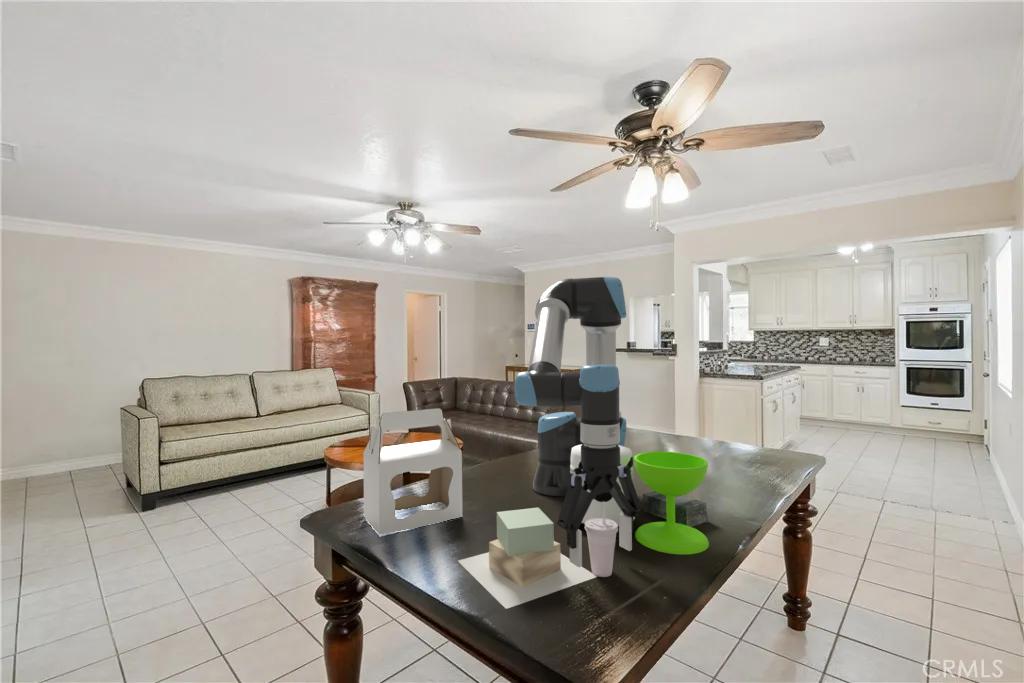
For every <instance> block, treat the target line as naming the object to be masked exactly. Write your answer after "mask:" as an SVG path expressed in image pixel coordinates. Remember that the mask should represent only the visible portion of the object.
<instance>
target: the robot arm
mask: <svg viewBox="0 0 1024 683" xmlns="http://www.w3.org/2000/svg"><path fill="white" fill-rule="evenodd" d="M624 293H625V292H624V288H623V283H622V280H621V279H620V278H618V277H613V276H611V277H610V276H599V277H598V276H597V277H596V276H595V277H584V278H583V277H581V278H580V277H578V278H565V279H561V280H559V281H557V282H555V283H554V284H552V285H550V286H549V287H548V288H547V289H546V290H545V291H544V292H543V293H542V294H541V295H540V296H539V299H538V300H537V302H536V305H535V310H534V315H535V318H536V324H535V331H534V334H533V339H532V345H531V349H530V350H531V351H530V356H529V361H528V366H527V371H522V372H520V371H519V372H518V373H517V374H516V376H515V379H514V398H515V401H516V403H517V404H518V405H520V406H525V407H526V406H527V407H577V408H580V417H578V416H577V415H576V413H575V412H574V411H559V412H553V413H548V414H545V415H543V416H540V418H539V419H538V423H537V425H538V426H537V431H536V432H537V449H538V451H537V453H538V454H537V455H538V456H537V460H538V463H537V466H536V470H535V474H534V477H533V480H532V490H533V491H534V492H536V493H538V494H540V495H541V494H542V495H544V496H551V497H564V499H563V503H562V506H561V509H560V513H559V515H558V518H557V523H556V525H557V527H560V528H561V529H564V531H566V546H567V547H568V548H569V559H570V562H571V563H573V564H574V565H576V566H577V567H583V547H582V546H583V545H582V544H583V543H582V541H583V540H582V539H583V538H582V535H583V534H582V532H583V531H582V530H580V529H579V528H580V526H581V522H582V520H583V518H584V516H585V514H586V512H587V510H588V508H589V506H590V504H591V502H592V500H593V499H595V498H596V496H597V495H600V494H602V493H604V492H605V493H609V492H610V494H611V495H612V497H613V498H614V500H615V501H616V503H617V504H618V506H619V507H620V509H621V510H622V512H623V513H624V514H623V513H620V514H619V528H618V538H619V540H618V542H619V547H620V548H623V549H624V550H626V551H628V552H630V551H632V550H633V542H632V541H633V539H632V537H633V536H632V535H633V534H632V533H633V530H634V521H633V517H635V518H637V517H638V516H639V514H638V513H639V512H640V511H642V506H641V503H640V499H639V497H638V494H637V491H636V488H635V485H634V481H633V482H632V479H631V469H630V467H628V466H625V465H622V464H620V447H619V446H618V445H620V446H624V447H625V445H626V437H627V419H626V418H625V417H622V412H621V411H620V385H621V384H620V383H621V382H620V381H621V380H620V376H619V375H620V374H619V373H620V372H619V368H618V366H617V340H616V339H617V329H618V328H619V327H620V326H621V325H622V319H625V318H627V309H626V308H627V307H626V301H625V294H624ZM570 319H572V320H579V326H581V328H583V329H584V330H585V362H586V363H585V364H584V365H583V366H581V368H580V370H579V371H575V372H574V371H572V372H571V371H569V372H567V371H562V370H561V369H562V368H561V367H562V359H563V358H562V357H563V350H564V349H563V347H564V338H565V327H566V323H567V322H568V321H569V320H570ZM581 444H582V446H581V463H582V465H583V471H582V474H579V475H575V474H573V473H570V465H571V450H572V448H573V447H574V446H577V445H581ZM617 478H619V481H620V484H621V487H622V489H623V492H624V494H623V492H622V491H621V487H620V486H619V484H618V482H617V481H616V480H617ZM583 482H584V483H583ZM588 489H589V491H590V492H588V491H587V490H588ZM636 511H637V512H636Z"/></svg>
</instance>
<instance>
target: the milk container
mask: <svg viewBox="0 0 1024 683" xmlns="http://www.w3.org/2000/svg"><path fill="white" fill-rule="evenodd" d="M581 446H582V444H581V445H577V446H574V447H573V448H572V450H571V465H570V473H573V474H575V475H579V474H582V471H583V465H582V463H581ZM618 446H619V447H620V464H622V465H625V466H628V467H630V469H631V479H632V482H633V483H634V456H633V452H632V450H631V448H629V447H626V446H625V445H624V446H620V445H618ZM616 481H617V482H618V484H619V486H620V487H621V484H620V481H619V478H617V480H616ZM583 483H584V482H583ZM587 491H588V492H590V491H589V489H588V490H587ZM621 491H622V492H623V489H622V487H621ZM623 494H624V492H623ZM603 501H604V502H605V518H606V519H610V520H613V521H615V522H616V523H617V524H618V529H619V514H620V513H623V512H622V510H621V509H620V507H619V506H618V504H617V503H616V501H615V500H614V498H613V497H612V495H611V494H610V492H609V493H605V492H604V493H602V494H600V495H597V496H596V498H595V499H593V500H592V502H591V504H590V506H589V508H588V510H587V512H586V514H585V516H584V518H583V520H582V522H581V524H580V526H581V525H582V526H584V527H585V522H586V521H587V520H589V519H592V518H602V502H603ZM636 512H638V511H636ZM623 514H624V513H623ZM635 519H636V517H633V522H634V521H635Z"/></svg>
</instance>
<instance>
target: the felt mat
mask: <svg viewBox="0 0 1024 683" xmlns="http://www.w3.org/2000/svg"><path fill="white" fill-rule="evenodd" d="M457 562H458V563H459V564H460V565H461V566H462V567H463V568H464V569H465V570H466V571H467V572H468V573H469V574H470V575H471V576H472V577H473V578H474V579H475V580H476V581H477V582H478V583H479V584H480V585H481V586H482V587H483V588H484V589H485V590H486V591H487V592H488V593H489V594H490V595H491V596H492V597H493V598H494V599H495V600H496V601H497V602H498V603H499V604H500V605H501V606H503V608H504V609H506V610H508V609H510V608H513V607H517V606H520V605H522V604H525V603H527V602H530V601H533V600H536V599H538V598H541V597H544V596H548V595H550V594H553V593H556V592H558V591H562V590H564V589H565V590H566V589H567V588H570V587H572V586H576V585H578V584H581V583H582V584H583V583H584V582H587V581H590V580H593V579H596V578H598V576H596V575H594V574H593V573H592V571H590V570H588V569H587V568H584V567H583V566H582V567H577V566H576V565H574V564H573V563H571V562H570V557H567V556H566V555H564V554H562V553H561V569H560V570H558V571H556V572H554V573H552V574H550V575H548V576H546V577H544V578H542V579H540V580H537V581H535V582H533V583H531V584H529V585H527V586H525V587H521V586H520V585H518V584H516V583H514V582H513V581H511V580H509V579H508V578H506V577H504V576H503V575H501V574H499V573H498V572H496V571H494V570H493V569H491V568H489V551H488V552H485V553H481V554H477V555H474V556H470V557H466V558H463V559H459V560H457Z"/></svg>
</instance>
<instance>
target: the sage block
mask: <svg viewBox="0 0 1024 683" xmlns="http://www.w3.org/2000/svg"><path fill="white" fill-rule="evenodd" d="M554 526H555V523H554V522H553V521H552V520H551V519H550V518H549V517H548V516H547V515H546V514H545V513H544V512H543V511H542V510H541V508H540V507H531V508H523V509H514V510H513V509H512V510H504V511H496V537H497V539H499V541H500V543H501V544H502V546H503V548H504V549H505V551H506V553H507V555H508V556H513V555H520V554H528V553H535V552H542V551H549V550H554V541H555V535H554V534H555V531H554V530H555V529H554Z"/></svg>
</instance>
